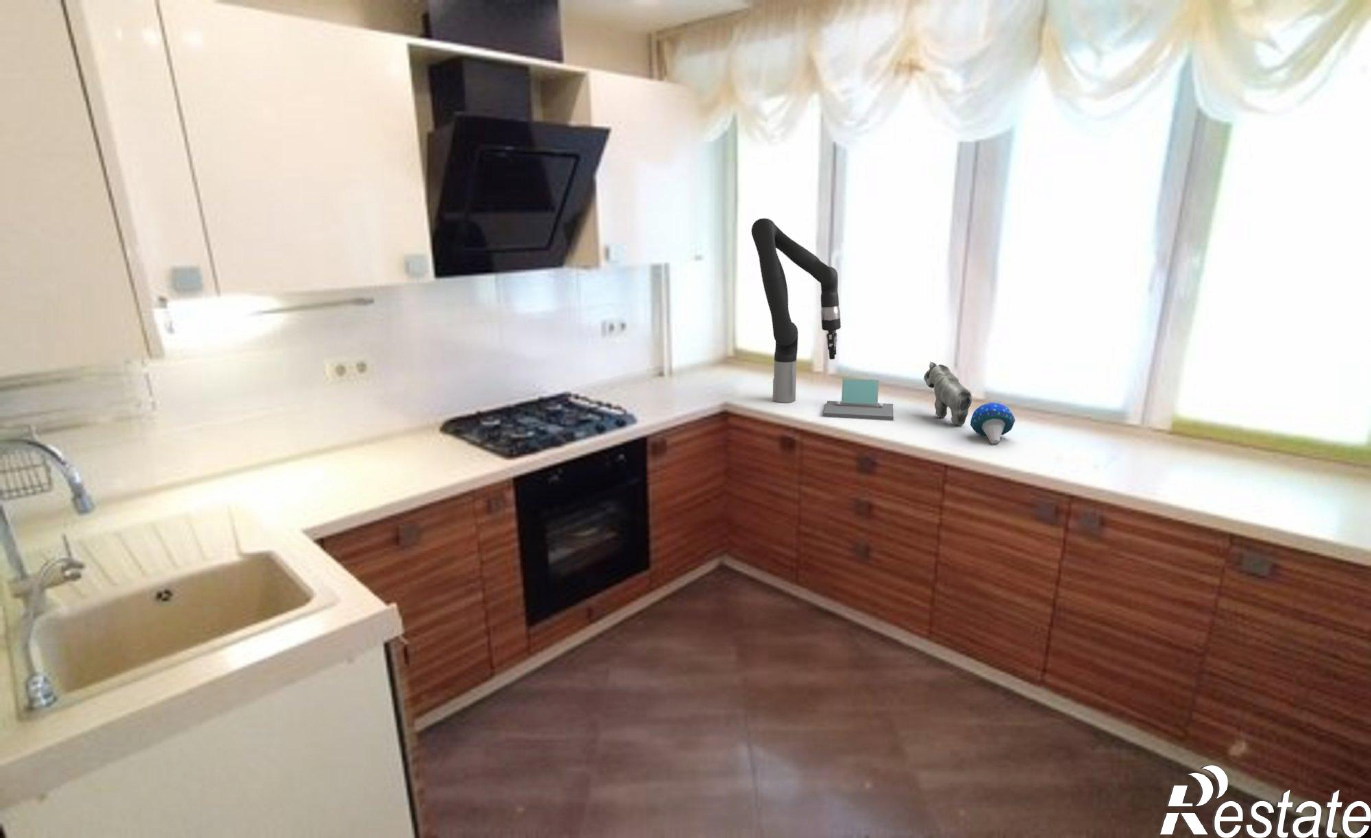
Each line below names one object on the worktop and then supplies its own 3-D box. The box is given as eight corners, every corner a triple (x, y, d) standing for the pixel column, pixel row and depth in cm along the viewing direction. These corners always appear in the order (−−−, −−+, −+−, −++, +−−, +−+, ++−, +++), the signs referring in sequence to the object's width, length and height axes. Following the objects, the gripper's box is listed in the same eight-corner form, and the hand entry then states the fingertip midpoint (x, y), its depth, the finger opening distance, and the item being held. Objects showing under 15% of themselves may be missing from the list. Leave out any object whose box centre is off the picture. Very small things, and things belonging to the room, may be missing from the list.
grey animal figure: (974, 426, 241) (980, 372, 235) (953, 429, 239) (958, 374, 233) (933, 408, 264) (937, 359, 258) (913, 410, 262) (917, 361, 256)
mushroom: (984, 426, 217) (979, 390, 225) (964, 449, 228) (961, 414, 237) (1026, 434, 216) (1020, 398, 225) (1005, 457, 228) (1000, 422, 237)
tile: (841, 403, 268) (841, 403, 266) (842, 378, 268) (842, 378, 266) (877, 405, 264) (877, 404, 262) (878, 380, 264) (879, 379, 263)
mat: (823, 416, 258) (823, 408, 257) (827, 404, 275) (827, 396, 274) (893, 420, 251) (893, 412, 250) (892, 407, 268) (893, 399, 267)
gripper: (822, 315, 275) (824, 354, 279) (819, 321, 262) (822, 361, 266) (841, 314, 273) (843, 353, 277) (839, 319, 260) (841, 360, 264)
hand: (832, 357), depth 272 cm, fingers open, 8 cm apart
